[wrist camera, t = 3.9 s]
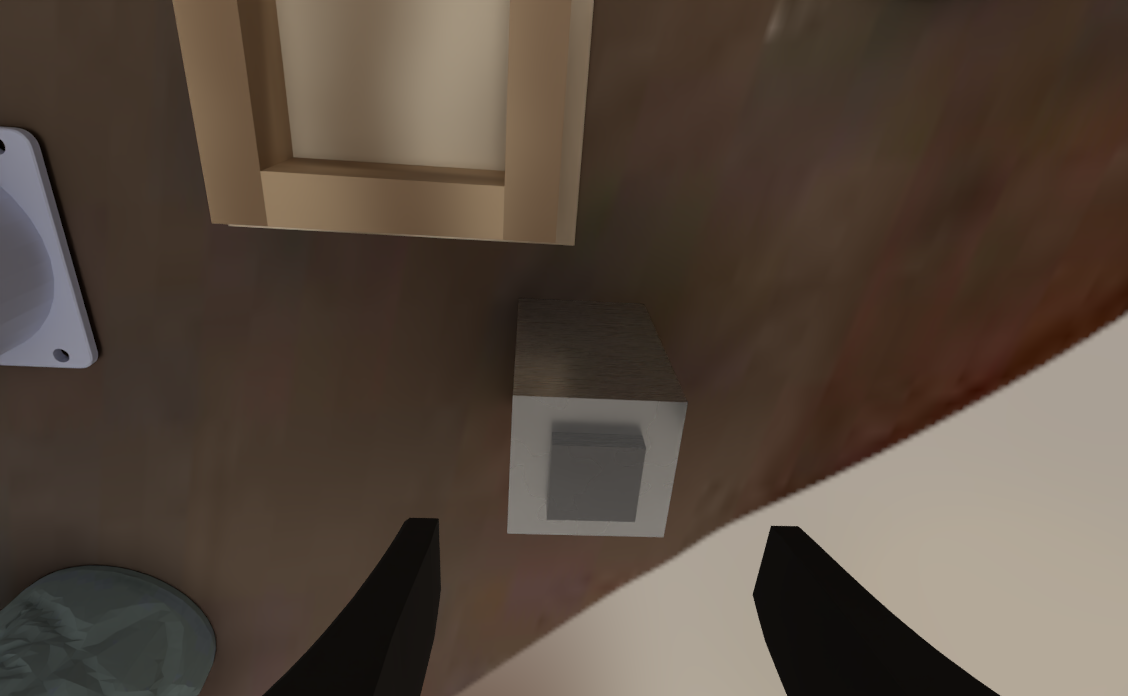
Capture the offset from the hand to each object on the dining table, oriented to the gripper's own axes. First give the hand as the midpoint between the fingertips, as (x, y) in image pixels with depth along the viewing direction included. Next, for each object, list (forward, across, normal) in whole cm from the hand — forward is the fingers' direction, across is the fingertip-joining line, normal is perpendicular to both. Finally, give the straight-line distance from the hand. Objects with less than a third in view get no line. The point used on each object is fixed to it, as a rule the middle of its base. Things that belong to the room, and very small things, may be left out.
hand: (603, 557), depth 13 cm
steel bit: (+10, 0, 0) cm, 11 cm away
